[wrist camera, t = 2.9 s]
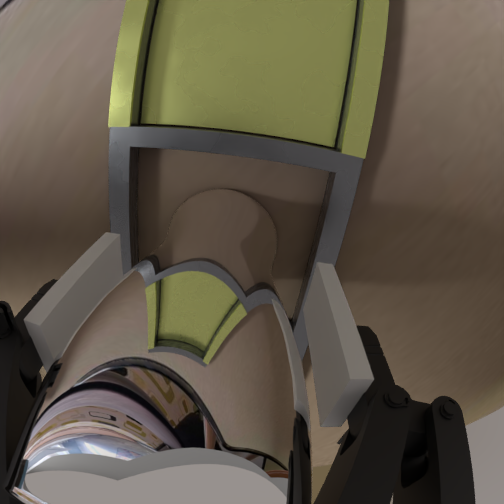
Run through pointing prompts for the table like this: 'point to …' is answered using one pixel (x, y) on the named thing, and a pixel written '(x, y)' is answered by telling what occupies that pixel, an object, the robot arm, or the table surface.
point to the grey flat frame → (248, 98)
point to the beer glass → (177, 379)
